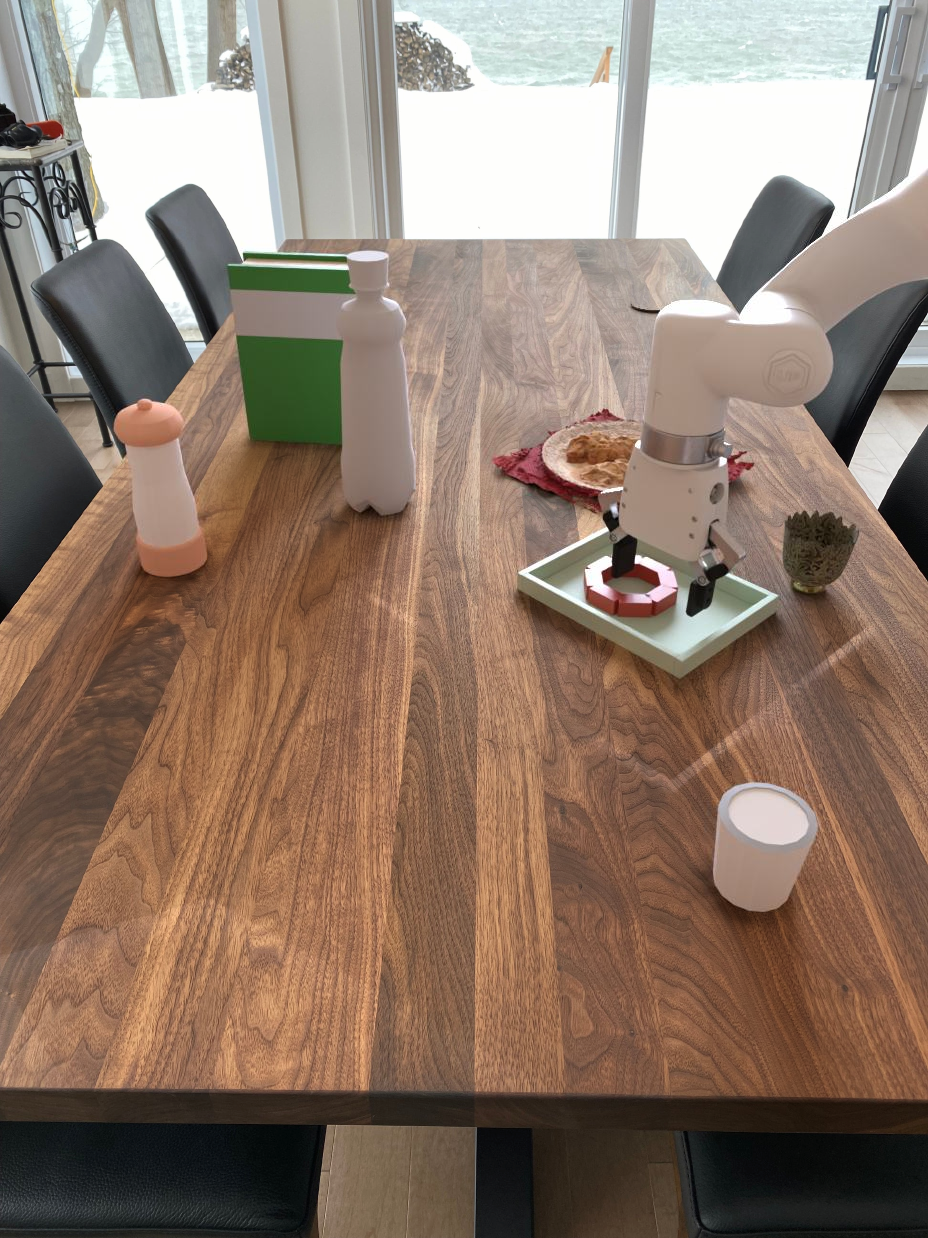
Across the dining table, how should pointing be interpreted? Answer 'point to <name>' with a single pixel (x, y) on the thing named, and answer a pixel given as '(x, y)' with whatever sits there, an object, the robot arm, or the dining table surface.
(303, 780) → the dining table surface
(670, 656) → the tray
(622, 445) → the plate with food
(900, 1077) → the dining table surface
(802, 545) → the cup
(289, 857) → the dining table surface
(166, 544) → the pepper shaker
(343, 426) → the bottle
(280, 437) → the hardback book
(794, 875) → the white cylinder
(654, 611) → the ring
